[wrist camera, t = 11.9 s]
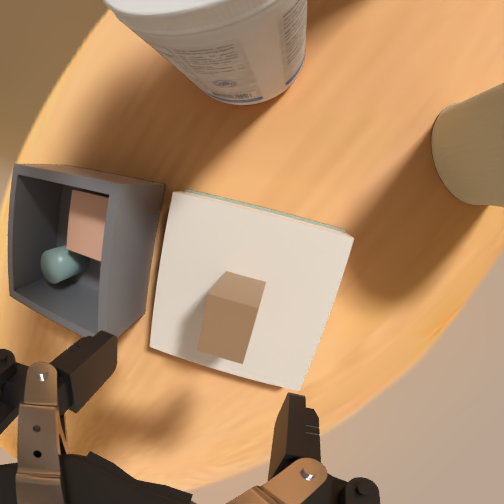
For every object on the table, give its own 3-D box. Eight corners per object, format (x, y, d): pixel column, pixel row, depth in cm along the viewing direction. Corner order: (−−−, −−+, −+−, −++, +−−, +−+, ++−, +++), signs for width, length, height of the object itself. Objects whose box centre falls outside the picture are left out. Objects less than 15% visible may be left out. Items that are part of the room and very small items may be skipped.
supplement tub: (259, -1, 19) (227, -119, 5) (328, 67, 20) (362, -53, 6) (170, 57, 22) (71, -29, 7) (231, 132, 22) (147, 61, 8)
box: (64, 164, 25) (14, 163, 18) (165, 184, 24) (121, 184, 17) (54, 276, 28) (9, 295, 21) (145, 313, 27) (106, 347, 20)
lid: (183, 191, 24) (141, 193, 17) (348, 233, 22) (372, 253, 16) (159, 335, 27) (123, 376, 20) (299, 376, 26) (298, 431, 19)
